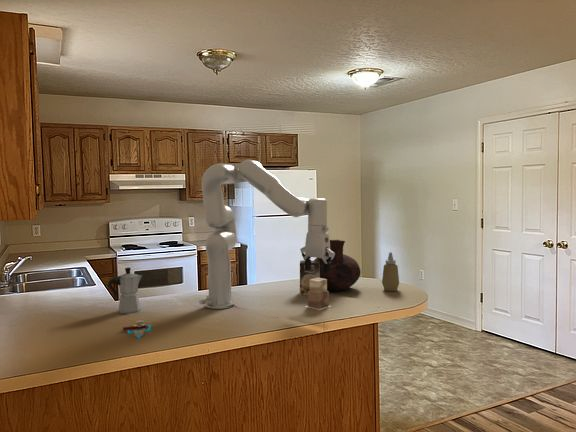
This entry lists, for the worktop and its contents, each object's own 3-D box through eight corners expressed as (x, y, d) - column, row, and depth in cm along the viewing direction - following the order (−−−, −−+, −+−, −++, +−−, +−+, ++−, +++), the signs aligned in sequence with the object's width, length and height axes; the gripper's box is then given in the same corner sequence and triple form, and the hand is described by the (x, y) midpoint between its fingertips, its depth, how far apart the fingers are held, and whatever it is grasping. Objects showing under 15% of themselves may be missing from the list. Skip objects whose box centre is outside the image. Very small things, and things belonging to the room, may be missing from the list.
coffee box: (299, 298, 207) (298, 262, 206) (300, 294, 214) (299, 260, 213) (319, 298, 206) (319, 262, 205) (320, 295, 213) (319, 260, 212)
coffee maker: (139, 306, 199) (137, 264, 198) (149, 309, 193) (147, 266, 191) (104, 313, 189) (102, 269, 187) (114, 317, 182) (112, 272, 181)
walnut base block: (319, 309, 184) (319, 294, 184) (308, 306, 188) (307, 291, 188) (329, 306, 188) (328, 291, 188) (317, 303, 192) (317, 289, 192)
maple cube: (318, 293, 184) (318, 281, 184) (309, 291, 188) (309, 279, 187) (327, 291, 188) (326, 279, 188) (317, 289, 191) (317, 277, 191)
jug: (366, 285, 230) (366, 235, 229) (351, 297, 208) (350, 241, 206) (319, 281, 241) (319, 234, 239) (300, 292, 218) (299, 239, 217)
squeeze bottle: (401, 292, 216) (401, 253, 215) (383, 292, 216) (383, 253, 215) (397, 288, 224) (397, 251, 223) (380, 288, 224) (380, 251, 223)
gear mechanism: (121, 341, 155) (151, 338, 158) (121, 326, 155) (150, 323, 157) (124, 324, 174) (150, 322, 177) (124, 310, 174) (150, 308, 177)
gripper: (340, 230, 183) (339, 273, 184) (307, 227, 195) (307, 267, 196) (328, 231, 177) (327, 275, 179) (295, 228, 189) (294, 269, 191)
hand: (316, 271), depth 187 cm, fingers open, 9 cm apart
